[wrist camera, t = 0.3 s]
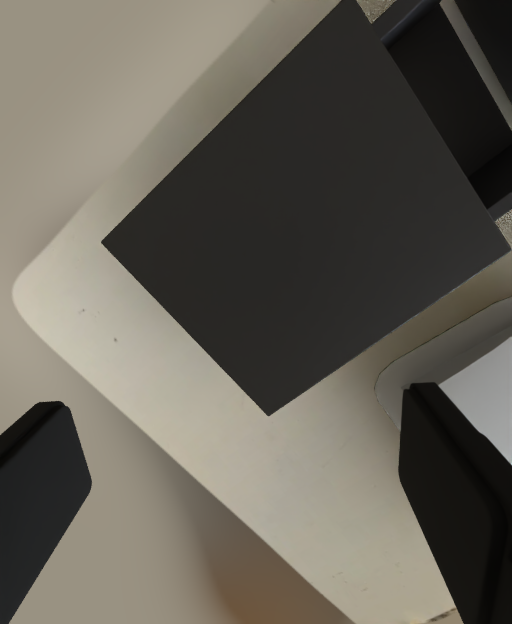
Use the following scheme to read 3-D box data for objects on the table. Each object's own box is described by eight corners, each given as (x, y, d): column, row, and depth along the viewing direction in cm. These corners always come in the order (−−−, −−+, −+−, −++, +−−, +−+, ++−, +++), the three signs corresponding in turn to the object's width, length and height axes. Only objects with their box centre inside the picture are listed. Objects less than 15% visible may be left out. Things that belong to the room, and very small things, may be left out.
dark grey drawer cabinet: (319, 72, 23) (351, -11, 14) (428, 231, 26) (513, 250, 17) (158, 226, 27) (99, 242, 17) (269, 349, 29) (268, 417, 20)
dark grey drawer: (527, -115, 19) (694, -318, 11) (620, 83, 21) (803, 24, 14) (264, 135, 23) (260, 106, 16) (368, 271, 26) (405, 301, 19)
